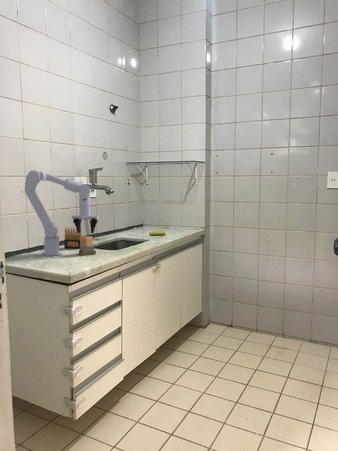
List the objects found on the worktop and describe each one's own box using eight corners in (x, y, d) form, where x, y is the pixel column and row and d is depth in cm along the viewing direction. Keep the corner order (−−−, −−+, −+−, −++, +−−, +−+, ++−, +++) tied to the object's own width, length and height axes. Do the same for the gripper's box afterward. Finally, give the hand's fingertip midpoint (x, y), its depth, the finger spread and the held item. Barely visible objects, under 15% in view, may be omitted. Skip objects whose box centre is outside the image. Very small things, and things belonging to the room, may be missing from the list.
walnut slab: (78, 254, 198) (78, 249, 198) (91, 253, 201) (91, 248, 201) (82, 256, 192) (82, 252, 192) (95, 255, 195) (95, 250, 195)
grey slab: (80, 249, 197) (80, 245, 197) (90, 248, 200) (90, 244, 200) (83, 251, 193) (83, 246, 192) (94, 250, 196) (93, 245, 195)
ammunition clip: (64, 248, 213) (63, 227, 212) (66, 247, 215) (65, 226, 213) (81, 249, 210) (80, 227, 209) (82, 248, 212) (82, 227, 210)
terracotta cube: (80, 245, 195) (79, 237, 195) (86, 244, 199) (85, 236, 199) (86, 246, 193) (86, 237, 192) (92, 245, 197) (92, 236, 196)
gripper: (68, 207, 196) (69, 233, 198) (94, 208, 192) (95, 234, 194) (75, 206, 203) (76, 231, 204) (100, 207, 199) (100, 232, 201)
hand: (85, 232), depth 200 cm, fingers open, 7 cm apart
